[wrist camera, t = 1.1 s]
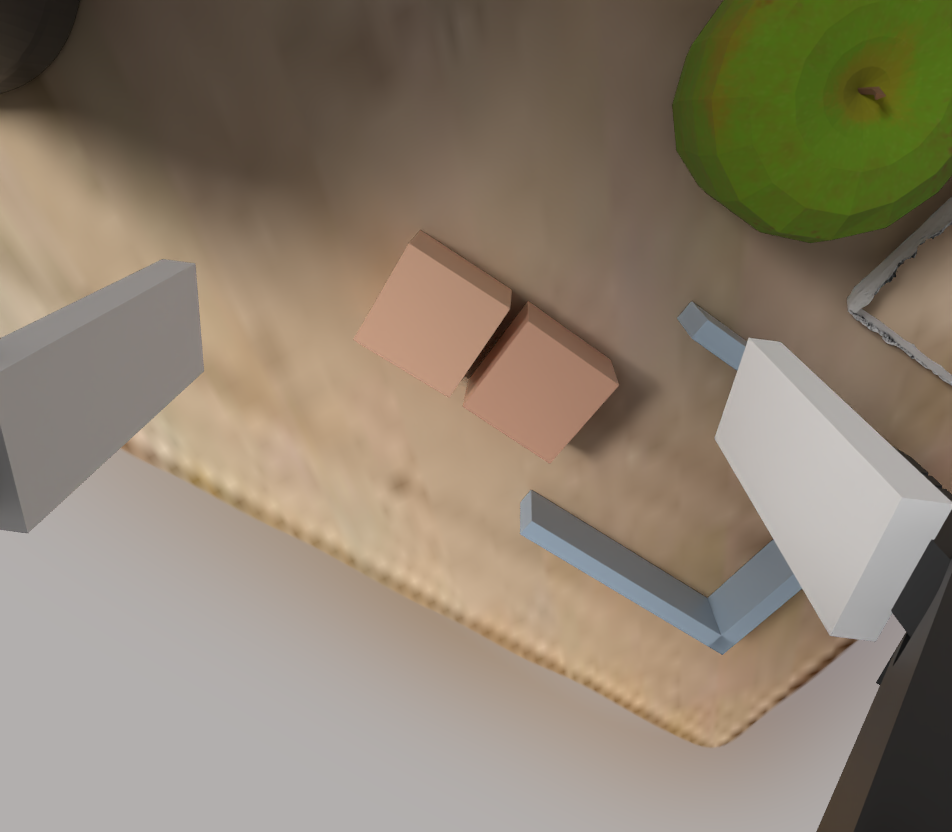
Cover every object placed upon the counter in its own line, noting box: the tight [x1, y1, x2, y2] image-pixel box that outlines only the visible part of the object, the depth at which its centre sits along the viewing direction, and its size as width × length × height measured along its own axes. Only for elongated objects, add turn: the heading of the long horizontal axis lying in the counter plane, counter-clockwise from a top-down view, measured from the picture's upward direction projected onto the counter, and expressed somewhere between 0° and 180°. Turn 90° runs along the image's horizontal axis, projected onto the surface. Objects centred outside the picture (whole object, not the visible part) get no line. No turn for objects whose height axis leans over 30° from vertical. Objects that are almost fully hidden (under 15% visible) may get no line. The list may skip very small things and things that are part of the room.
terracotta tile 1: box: [353, 230, 512, 397], centre depth 35 cm, size 6×6×4 cm
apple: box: [672, 0, 952, 243], centre depth 26 cm, size 11×11×11 cm
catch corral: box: [520, 301, 802, 655], centre depth 39 cm, size 16×16×4 cm
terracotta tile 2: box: [463, 301, 619, 463], centre depth 36 cm, size 6×6×4 cm
